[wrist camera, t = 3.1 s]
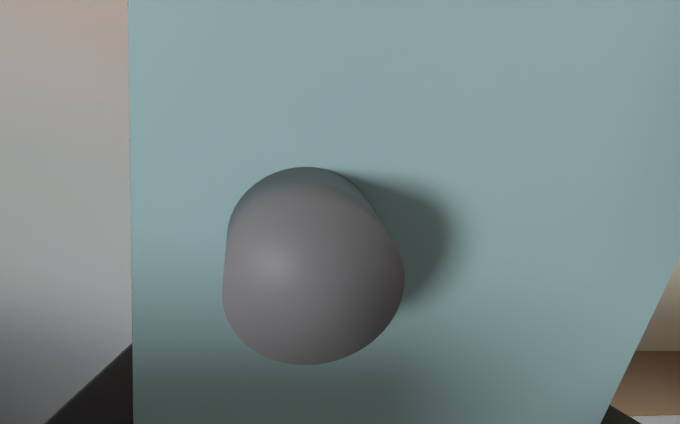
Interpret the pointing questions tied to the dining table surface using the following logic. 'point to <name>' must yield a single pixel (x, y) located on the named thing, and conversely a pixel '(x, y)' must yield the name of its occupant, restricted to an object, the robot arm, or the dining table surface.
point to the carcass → (655, 361)
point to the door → (398, 207)
